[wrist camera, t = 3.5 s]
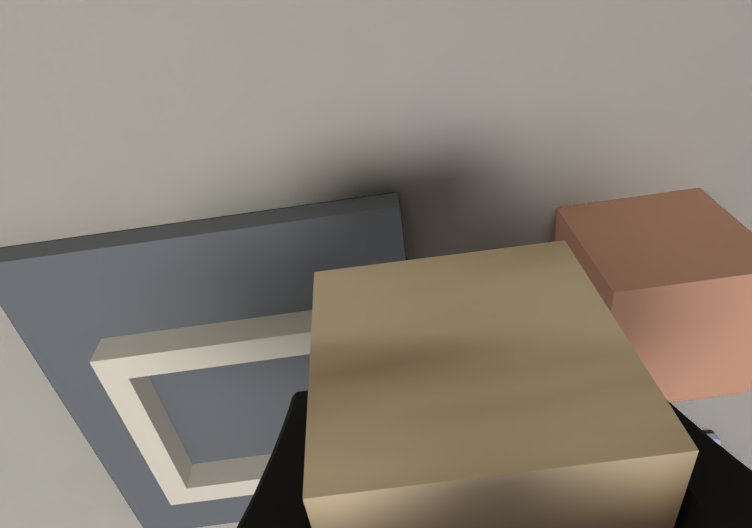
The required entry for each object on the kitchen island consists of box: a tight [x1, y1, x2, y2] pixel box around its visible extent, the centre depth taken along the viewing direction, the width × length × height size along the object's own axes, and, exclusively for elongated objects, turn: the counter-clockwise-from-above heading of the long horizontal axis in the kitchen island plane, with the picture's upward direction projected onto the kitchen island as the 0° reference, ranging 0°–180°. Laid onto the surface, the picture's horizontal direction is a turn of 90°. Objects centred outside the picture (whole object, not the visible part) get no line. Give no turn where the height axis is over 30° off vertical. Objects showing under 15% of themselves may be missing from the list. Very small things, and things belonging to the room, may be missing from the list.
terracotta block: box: [554, 188, 752, 402], centre depth 19 cm, size 5×5×5 cm
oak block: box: [303, 240, 699, 528], centre depth 11 cm, size 5×5×5 cm
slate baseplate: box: [0, 192, 406, 528], centre depth 23 cm, size 16×14×2 cm
